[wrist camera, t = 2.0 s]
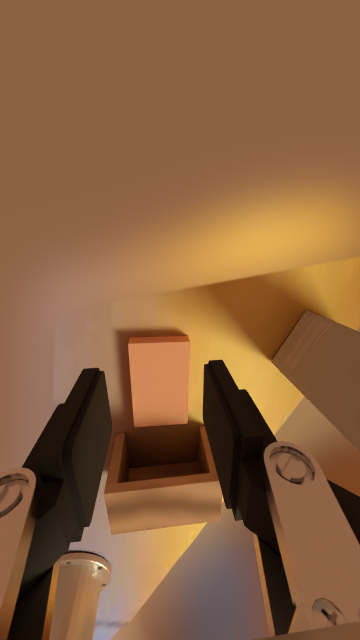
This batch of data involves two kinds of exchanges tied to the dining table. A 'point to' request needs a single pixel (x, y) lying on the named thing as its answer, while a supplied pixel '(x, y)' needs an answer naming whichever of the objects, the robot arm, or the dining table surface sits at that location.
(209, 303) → the dining table surface
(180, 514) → the tan open box
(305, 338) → the skincare box
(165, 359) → the terracotta tile
